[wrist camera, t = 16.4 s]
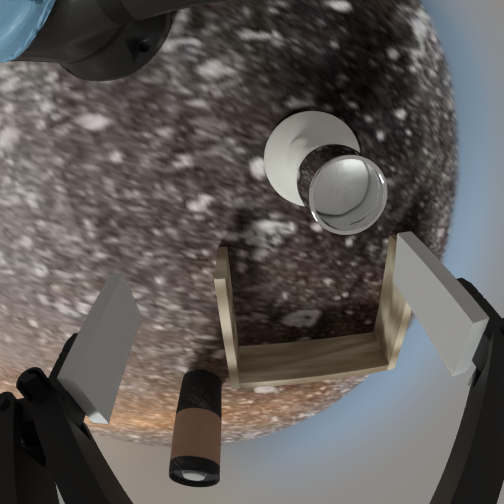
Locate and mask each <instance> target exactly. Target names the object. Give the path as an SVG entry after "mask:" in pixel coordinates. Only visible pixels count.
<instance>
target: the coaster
mask: <svg viewBox="0 0 504 504" xmlns="http://www.w3.org/2000/svg"><path fill="white" fill-rule="evenodd" d="M304 135H318V136H321V137H323V138H324V139H326V140H327V141H328V142H336V143H341V144H344V145H347V146H349V147H352V148H353V149H355V150H357V151H358V152H360V149H359V145H358V142H357V139H356V137H355V135H354V134H353V132H352V130H351V129H350V128H349V127H348V126H347V125H346V124H345V123H344V122H343V121H341V120H340V119H339V118H337V117H335V116H333V115H331V114H328V113H324V112H320V111H304V112H300V113H296V114H294V115H291V116H290V117H288V118H286V119H285V120H283V121H282V122H281V123H280V124H278V125H277V126H276V128H275V129H274V130H273V131H272V133H271V135H270V136H269V138H268V141H267V143H266V147H265V151H264V166H265V171H266V174H267V177H268V179H269V181H270V183H271V185H272V186H273V188H274V189H275V190H276V191H277V192H278V193H279V194H280V195H281V196H282V197H284V198H285V199H286V200H288V201H290V202H292V203H295V204H298V205H301V206H305V205H304V204H303V202H302V201H301V199H300V196H299V194H298V192H297V189H296V184H295V178H294V177H293V176H292V175H291V174H290V172H289V170H288V168H287V165H286V154H287V151H288V149H289V147H290V145H291V144H292V143H293V142H294V141H295V140H296V139H298V138H299V137H301V136H304Z"/></svg>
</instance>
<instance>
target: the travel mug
mask: <svg viewBox="0 0 504 504" xmlns="http://www.w3.org/2000/svg"><path fill="white" fill-rule="evenodd" d="M221 420H222V419H221V381H220V379H219V378H218V377H217V376H216V375H215V374H213V373H211V372H208V371H204V370H195V371H191V372H189V373H187V374H186V375H185V376H184V378H183V381H182V385H181V390H180V396H179V401H178V406H177V411H176V417H175V424H174V432H173V440H172V449H171V457H170V466H169V477H170V479H172V480H173V481H175V482H177V483H179V484H182V485H186V486H191V487H209V486H213V485H216V484H217V483H218V482H219V481H220V447H221Z"/></svg>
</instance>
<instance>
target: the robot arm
mask: <svg viewBox="0 0 504 504" xmlns="http://www.w3.org/2000/svg"><path fill="white" fill-rule="evenodd" d="M220 1H226V0H0V62H1V63H4V62H8V61H33V62H52V63H59V64H60V65H61V66H62V67H63V68H64V69H65V70H66V71H67V72H69V73H70V74H72V75H73V76H75V77H78V78H80V79H84V80H89V81H111V80H116V79H120V78H122V77H125V76H127V75H129V74H132V73H133V72H135V71H137V70H138V69H140V68H141V67H142V66H144V65H145V64H146V63H147V62H148V61H150V60H151V59H152V58H153V56H154V55H155V54H156V53H157V52H158V50H159V49H160V48H161V46H162V44H163V43H164V41H165V39H166V37H167V34H168V32H169V29H170V25H171V19H172V11H176V10H180V9H185V8H189V7H194V6H199V5H204V4H209V3H214V2H220ZM393 282H394V284H395V285H396V287H397V288H398V290H399V291H400V293H401V294H402V296H403V297H404V299H405V300H406V302H407V303H408V305H409V306H410V308H411V309H412V311H413V312H414V314H415V316H416V317H417V319H418V320H419V321H420V324H421V325H422V327H423V328H424V330H425V332H426V333H427V335H428V336H429V338H430V340H431V341H432V343H433V345H434V346H435V348H436V350H437V351H438V353H439V355H440V357H441V358H442V360H443V362H444V363H445V365H446V367H447V369H448V371H449V372H450V374H451V376H452V377H453V376H455V375H458V374H461V373H464V372H466V371H467V370H468V369H469V366H470V364H471V362H472V361H473V363H474V364H475V366H476V369H475V371H474V373H473V375H472V377H471V379H470V381H469V383H468V385H469V386H470V384H471V387H470V391H469V395H468V399H467V403H466V407H465V410H464V414H463V417H462V420H461V424H460V427H459V430H458V433H457V436H456V439H455V442H454V445H453V448H452V451H451V454H450V457H449V459H448V462H447V464H446V467H445V470H444V472H443V475H442V477H441V480H440V482H439V484H438V486H437V489H436V491H435V493H434V495H433V498H432V500H431V502H430V504H496V503H497V500H498V497H499V494H500V491H501V488H502V484H503V481H504V318H501V317H500V316H499V314H498V313H497V312H496V311H495V310H494V308H493V307H492V306H491V305H490V304H489V303H488V301H487V300H486V299H485V298H483V296H482V295H481V293H479V292H478V290H477V289H476V288H475V287H474V286H473V285H472V283H470V282H468V281H467V280H465V279H463V278H459V279H456V278H455V277H454V276H453V275H452V274H451V273H450V271H449V270H448V269H447V268H446V267H445V266H444V265H443V264H442V263H441V262H440V261H439V260H438V258H437V257H436V256H435V255H434V254H433V253H432V252H431V251H430V250H429V249H428V248H427V247H426V246H425V245H424V244H423V243H422V242H421V241H420V240H419V239H418V238H417V237H416V236H415V235H414V234H413V233H412V232H411V231H410V232H403V233H397V245H396V256H395V267H394V276H393ZM141 318H142V316H141V314H140V312H139V309H138V307H137V305H136V302H135V300H134V297H133V295H132V292H131V290H130V287H129V285H128V282H127V280H126V277H125V275H124V273H119V274H112V275H110V276H109V278H108V280H107V281H106V283H105V285H104V287H103V288H102V290H101V292H100V294H99V296H98V297H97V299H96V301H95V303H94V305H93V307H92V308H91V310H90V312H89V314H88V316H87V318H86V320H85V322H84V324H83V326H82V327H81V329H80V331H79V333H74V334H73V335H72V336H71V337H70V338H69V339H68V340H67V341H66V343H65V345H64V347H63V349H62V352H61V353H60V355H59V359H57V361H56V363H55V365H54V367H53V369H52V371H51V374H50V376H49V378H47V376H46V375H45V374H44V372H43V371H42V370H41V369H40V368H38V367H32V368H30V369H27V370H26V371H24V372H23V373H22V374H21V375H20V377H19V378H18V380H17V383H16V388H17V389H18V390H19V391H20V393H21V394H22V395H23V396H24V397H25V398H21V399H16V397H15V396H14V395H13V394H12V393H11V392H3V393H1V394H0V504H59V500H58V494H57V489H56V485H57V487H58V489H59V492H60V494H61V496H62V498H63V500H64V502H65V504H133V503H132V501H131V500H130V498H129V497H128V496H127V494H126V492H125V491H124V490H123V488H122V486H121V485H120V483H119V482H118V480H117V478H116V477H115V475H114V474H113V472H112V470H111V469H110V467H109V465H108V464H107V462H106V460H105V458H104V457H103V455H102V453H101V452H100V449H99V448H98V446H97V444H96V442H95V440H94V438H93V437H92V435H91V433H90V431H89V429H88V427H87V425H86V424H85V423H84V422H83V421H84V418H85V415H87V416H88V418H89V419H90V420H91V421H92V422H93V423H105V424H109V421H110V417H111V413H112V410H113V406H114V403H115V399H116V396H117V392H118V389H119V386H120V382H121V379H122V376H123V373H124V369H125V366H126V363H127V360H128V357H129V354H130V350H131V347H132V344H133V341H134V338H135V335H136V332H137V329H138V326H139V324H140V321H141ZM55 482H56V483H55Z"/></svg>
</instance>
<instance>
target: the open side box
mask: <svg viewBox="0 0 504 504" xmlns="http://www.w3.org/2000/svg"><path fill="white" fill-rule="evenodd" d="M396 245H397V235H390V237H389V245H388V252H387V259H386V266H385V272H384V278H383V284H382V290H381V296H380V301H379V307H378V312H377V317H376V322H375V327H374V331H373V332H370V333H363V334H356V335H348V336H341V337H333V338H324V339H316V340H306V341H297V342H286V343H275V344H262V345H248V346H239V343H238V335H237V327H236V318H235V310H234V302H233V293H232V285H231V276H230V267H229V258H228V249H227V247H218V253H217V261H216V269H215V277H214V281H215V288H216V295H217V302H218V308H219V315H220V321H221V327H222V334H223V340H224V346H225V352H226V358H227V364H228V370H229V375H230V381H231V387H232V389H234V388H252V387H266V386H278V385H289V384H298V383H307V382H316V381H323V380H331V379H338V378H345V377H351V376H357V375H363V374H369V373H374V372H380V371H385V370H390V369H394V367H395V364H396V361H397V358H398V355H399V352H400V348H401V345H402V342H403V339H404V335H405V332H406V328H407V325H408V321H409V317H410V314H411V310H412V309H411V308H410V306H409V305H408V303H407V302H406V300H405V299H404V297H403V296H402V294H401V293H400V291H399V290H398V288H397V287H396V285H395V284H394V282H393V276H394V267H395V256H396Z"/></svg>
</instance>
